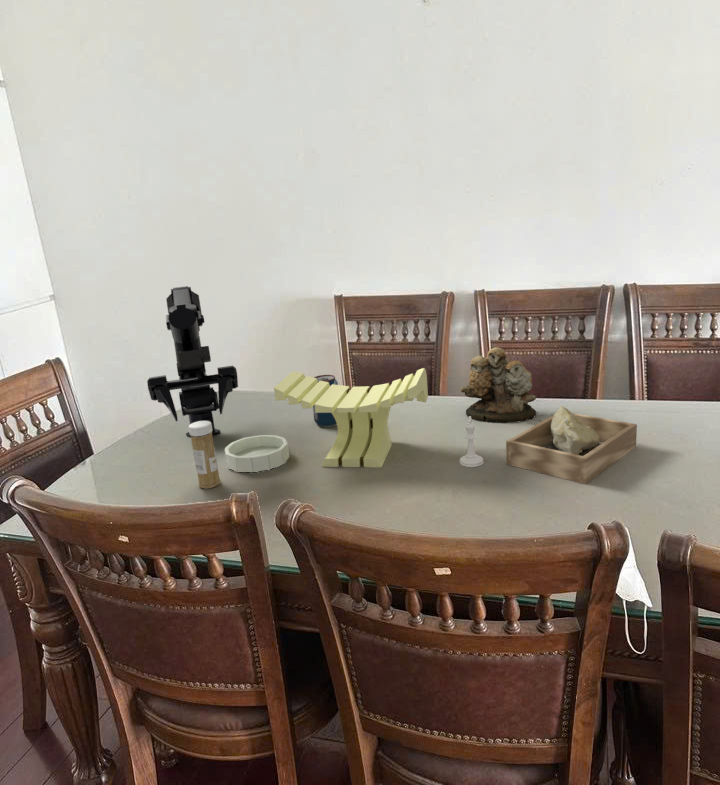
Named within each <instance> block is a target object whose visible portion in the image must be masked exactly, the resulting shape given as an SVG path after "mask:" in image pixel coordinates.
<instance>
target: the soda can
mask: <svg viewBox="0 0 720 785" xmlns="http://www.w3.org/2000/svg"><path fill="white" fill-rule="evenodd" d="M313 378H317V382H319V381H325V382H329V385H330V386H331V385H332V384H334V385H339V382H338V381H337V379H336V376H335V375H333V374H321V375H316V376H313ZM312 412H313V414H312V415H313V421H314V422H315V424H316V425H317V426H318V425H319V426H318V427H321V426H322V427H321V428H328V426H330V427H334V426H336V425H337V423H336V420H335V418H334V416H333V415H332V413H315V405H314V406H313V407H312Z"/></svg>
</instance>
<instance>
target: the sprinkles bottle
mask: <svg viewBox="0 0 720 785" xmlns="http://www.w3.org/2000/svg"><path fill="white" fill-rule="evenodd" d="M188 432H189V433H190V436H191V437H190V436H189V437H190V439H191V444H192V452H193V453H192V454H193V458H194V464H195V470H196V473H197V478H198V479H197V480H198V486H199V488H202V489H211V488H215V487H218V486H219V485H220V484H221V479H220V473H219V467H218V460H217V454H216V449H215V443H214V439H213V438H214V437H213V435H212V424H211V422H210V421H198V422H194V423H192V424H190V423H189V425H188Z"/></svg>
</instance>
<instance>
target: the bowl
mask: <svg viewBox="0 0 720 785" xmlns="http://www.w3.org/2000/svg"><path fill="white" fill-rule="evenodd" d="M288 445H289V443H288V442H287V440H286V438H285V437H282V436H279V435H275V434H272V435H271V434H259V435H252V436H245V437H243V438H240V439H236V440H235V441H232V442H230V443H229V444H228V445H227V446H226V447H224V454H225V462H226V466H228V467H227V469H228V468H229V469H232V470H234V471H233V472H235V471H237V472H256V471H262V470H268V469H271V468H274V467H276V466H278V465H281V464H283V463H284V462H285V461H286V460H287V459H288V458H289V459H290V452H289V446H288ZM289 459H288V460H289ZM288 460H287V461H288ZM287 461H286V462H287ZM286 462H285V463H286ZM285 463H284V464H285ZM284 464H283V465H284ZM281 466H282V465H281ZM276 468H277V467H276ZM229 469H228V470H229ZM274 469H275V468H274ZM232 470H231V471H232ZM268 471H269V470H268ZM237 472H236V473H237ZM262 472H263V471H262Z"/></svg>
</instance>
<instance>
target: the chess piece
mask: <svg viewBox="0 0 720 785" xmlns="http://www.w3.org/2000/svg"><path fill="white" fill-rule="evenodd" d="M472 420H473V419H472V418H471V416H469V417H468V419H467V423H468V424H466V425H465V430H466V433H467V434H466V435H465V436H464V437H465V439H466V440H467V452H466V454H465V455H463V456H461V457H460V458H459V465H460V466H463V467H467V468H475V467H480V466H482V465H483V464H484V463H485V461H484V458H483V457H482V456H481V455H478V454H477V453H476V451H475V450H476V449H475V445H474V440H475V439H476V435H475V434H474V433H475V429H476V425H475V424H474V423H472V422H473V421H472Z"/></svg>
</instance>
